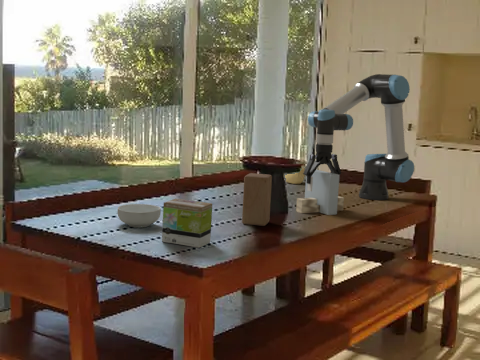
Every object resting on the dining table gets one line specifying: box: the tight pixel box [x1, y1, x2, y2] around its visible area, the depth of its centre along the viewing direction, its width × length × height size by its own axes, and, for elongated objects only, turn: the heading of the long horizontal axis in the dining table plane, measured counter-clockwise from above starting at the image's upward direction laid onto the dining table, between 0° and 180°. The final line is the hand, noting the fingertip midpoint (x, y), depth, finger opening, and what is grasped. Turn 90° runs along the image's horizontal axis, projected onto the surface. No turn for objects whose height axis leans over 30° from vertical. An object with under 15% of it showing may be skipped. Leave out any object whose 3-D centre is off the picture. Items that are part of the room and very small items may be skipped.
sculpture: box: [285, 167, 306, 185], centre depth 418 cm, size 11×12×11 cm
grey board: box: [304, 169, 341, 216], centre depth 335 cm, size 18×5×18 cm, turn 31°
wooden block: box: [241, 172, 273, 227], centre depth 300 cm, size 10×10×20 cm
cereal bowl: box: [117, 203, 162, 228], centre depth 285 cm, size 17×17×7 cm
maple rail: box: [295, 195, 345, 214], centre depth 336 cm, size 24×4×6 cm, turn 122°
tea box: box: [161, 198, 213, 249], centre depth 260 cm, size 15×10×15 cm, turn 69°
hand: (321, 190), depth 335 cm, fingers open, 13 cm apart
